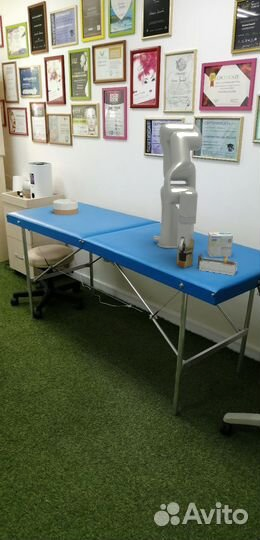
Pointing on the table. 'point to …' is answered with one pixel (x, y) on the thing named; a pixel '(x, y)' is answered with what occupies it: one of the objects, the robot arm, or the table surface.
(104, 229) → the table surface
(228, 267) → the gauge rail
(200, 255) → the plunger
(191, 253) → the shoe polish box
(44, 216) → the table surface
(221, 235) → the light bulb box
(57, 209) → the bowl
